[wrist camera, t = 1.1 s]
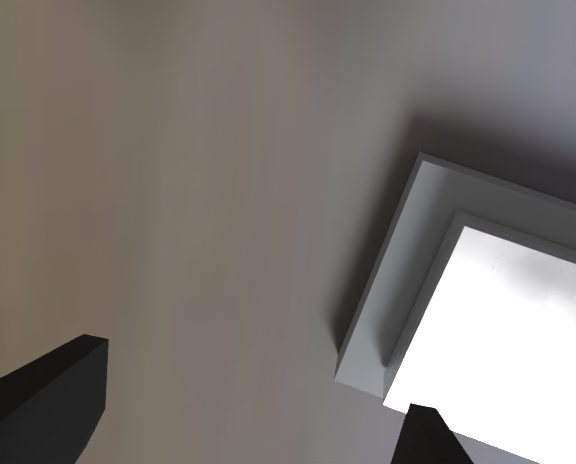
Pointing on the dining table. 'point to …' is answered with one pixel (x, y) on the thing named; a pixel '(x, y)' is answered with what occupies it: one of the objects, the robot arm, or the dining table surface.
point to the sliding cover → (494, 341)
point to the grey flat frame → (434, 253)
